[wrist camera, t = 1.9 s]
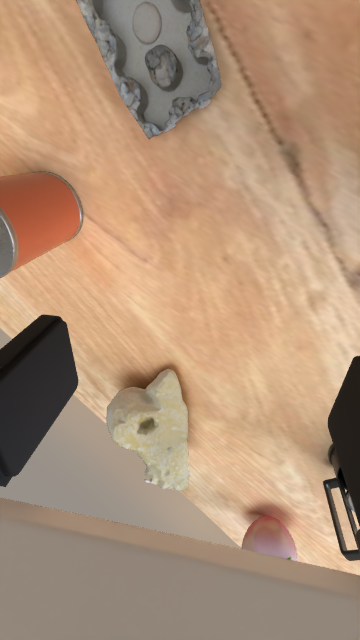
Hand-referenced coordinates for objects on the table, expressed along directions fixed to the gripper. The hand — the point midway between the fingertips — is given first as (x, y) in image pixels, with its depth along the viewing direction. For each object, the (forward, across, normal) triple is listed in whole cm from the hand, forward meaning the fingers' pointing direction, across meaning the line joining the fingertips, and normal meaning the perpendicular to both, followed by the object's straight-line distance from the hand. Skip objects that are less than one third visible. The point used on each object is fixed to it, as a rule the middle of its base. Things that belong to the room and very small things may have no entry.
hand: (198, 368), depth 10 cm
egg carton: (+22, +6, -13) cm, 27 cm away
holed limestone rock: (+22, +5, +27) cm, 36 cm away
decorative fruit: (+22, -13, +52) cm, 58 cm away
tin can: (+22, +18, 0) cm, 29 cm away
